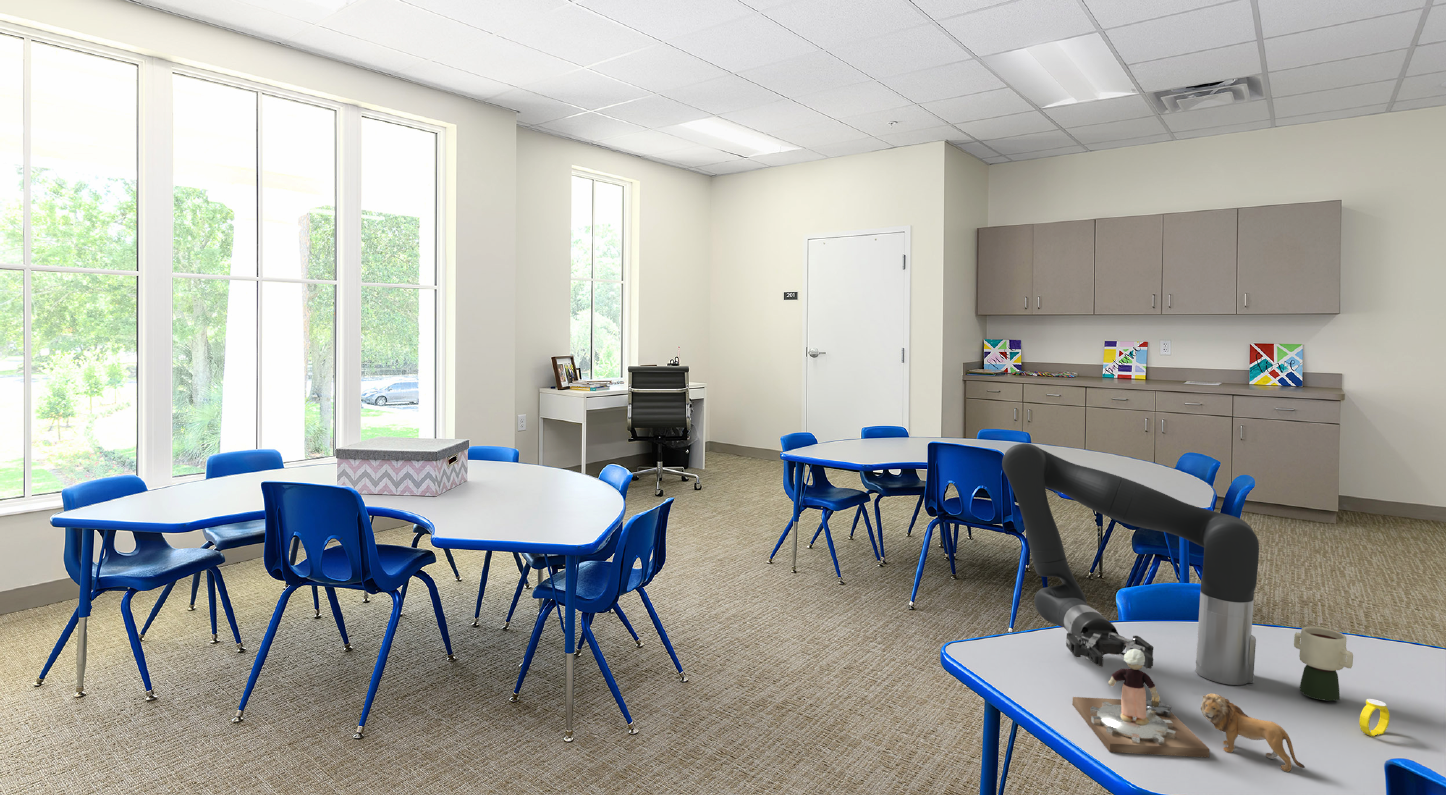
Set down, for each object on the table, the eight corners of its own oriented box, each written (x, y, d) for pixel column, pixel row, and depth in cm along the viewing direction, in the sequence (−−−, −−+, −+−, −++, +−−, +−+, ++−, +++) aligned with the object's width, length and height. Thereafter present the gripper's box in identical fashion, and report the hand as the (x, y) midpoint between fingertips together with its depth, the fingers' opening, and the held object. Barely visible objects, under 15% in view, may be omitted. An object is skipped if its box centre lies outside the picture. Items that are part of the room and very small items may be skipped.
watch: (1374, 729, 139) (1378, 697, 138) (1392, 736, 136) (1396, 704, 136) (1353, 732, 137) (1357, 699, 136) (1370, 740, 134) (1374, 706, 134)
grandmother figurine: (1153, 718, 136) (1158, 649, 135) (1157, 728, 132) (1161, 657, 131) (1105, 710, 139) (1109, 642, 138) (1107, 719, 135) (1111, 650, 134)
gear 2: (1163, 704, 143) (1164, 689, 143) (1177, 718, 138) (1178, 702, 138) (1133, 703, 144) (1133, 687, 143) (1145, 716, 139) (1146, 700, 138)
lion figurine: (1197, 747, 131) (1200, 696, 130) (1200, 735, 135) (1203, 685, 135) (1304, 778, 122) (1308, 723, 122) (1304, 763, 126) (1308, 711, 126)
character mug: (1362, 707, 146) (1367, 641, 145) (1335, 712, 144) (1339, 645, 143) (1304, 683, 157) (1308, 621, 156) (1278, 687, 155) (1282, 624, 154)
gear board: (1159, 708, 145) (1160, 701, 145) (1208, 757, 128) (1209, 749, 128) (1072, 704, 146) (1072, 696, 146) (1109, 752, 129) (1110, 743, 129)
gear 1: (1153, 709, 141) (1153, 704, 141) (1190, 746, 128) (1190, 740, 128) (1078, 705, 142) (1078, 700, 142) (1107, 742, 129) (1107, 736, 129)
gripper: (1054, 609, 155) (1085, 641, 139) (1127, 612, 154) (1167, 644, 138) (1052, 645, 156) (1084, 681, 140) (1125, 648, 155) (1165, 684, 138)
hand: (1125, 662), depth 139 cm, fingers open, 8 cm apart
